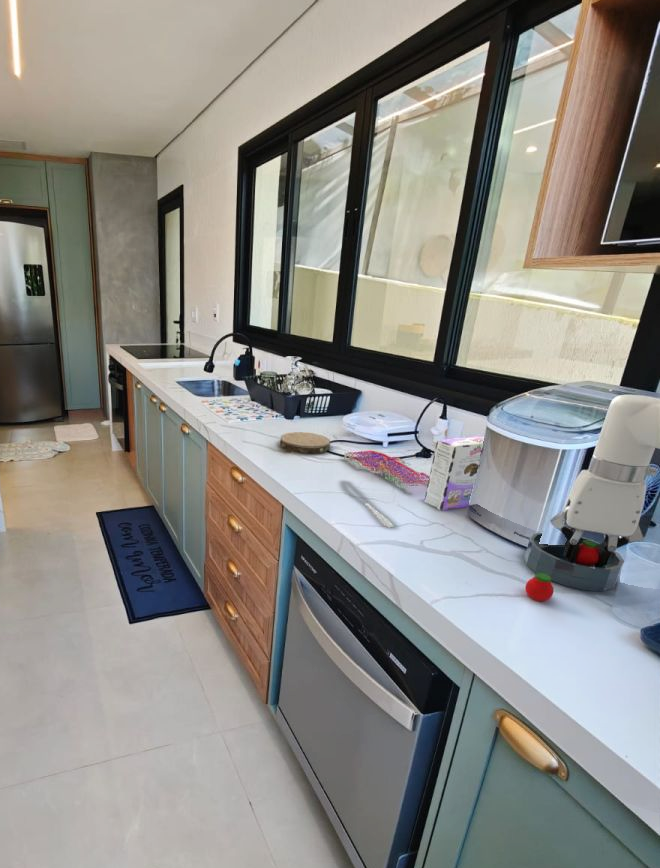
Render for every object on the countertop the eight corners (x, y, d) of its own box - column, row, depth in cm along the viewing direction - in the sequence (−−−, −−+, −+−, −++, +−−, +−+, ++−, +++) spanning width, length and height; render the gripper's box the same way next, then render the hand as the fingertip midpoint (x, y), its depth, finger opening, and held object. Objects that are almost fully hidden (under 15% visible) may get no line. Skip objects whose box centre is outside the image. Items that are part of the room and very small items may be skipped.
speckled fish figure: (448, 494, 129) (452, 475, 127) (396, 498, 126) (400, 478, 124) (385, 458, 156) (387, 441, 154) (340, 460, 153) (342, 443, 151)
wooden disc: (269, 445, 165) (270, 436, 164) (303, 438, 174) (304, 429, 173) (305, 458, 154) (306, 449, 152) (339, 450, 163) (340, 441, 161)
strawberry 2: (592, 562, 93) (600, 540, 91) (598, 572, 89) (606, 549, 88) (567, 557, 94) (574, 535, 92) (572, 567, 91) (579, 545, 89)
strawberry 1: (538, 592, 88) (545, 569, 86) (555, 605, 84) (563, 582, 83) (517, 593, 87) (524, 570, 86) (533, 606, 84) (541, 583, 82)
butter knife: (382, 526, 109) (395, 525, 109) (338, 483, 134) (349, 482, 134) (382, 529, 109) (395, 528, 109) (338, 485, 134) (349, 484, 134)
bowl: (601, 563, 98) (610, 540, 96) (625, 601, 86) (635, 576, 84) (519, 548, 103) (525, 526, 101) (530, 582, 91) (537, 557, 89)
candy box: (465, 496, 128) (480, 434, 122) (484, 505, 123) (501, 441, 117) (422, 502, 124) (435, 438, 118) (440, 512, 119) (455, 445, 113)
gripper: (668, 470, 85) (631, 565, 92) (555, 455, 91) (527, 545, 98) (687, 485, 79) (645, 585, 86) (563, 468, 85) (533, 563, 91)
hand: (582, 563), depth 92 cm, fingers closed on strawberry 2, 3 cm apart
